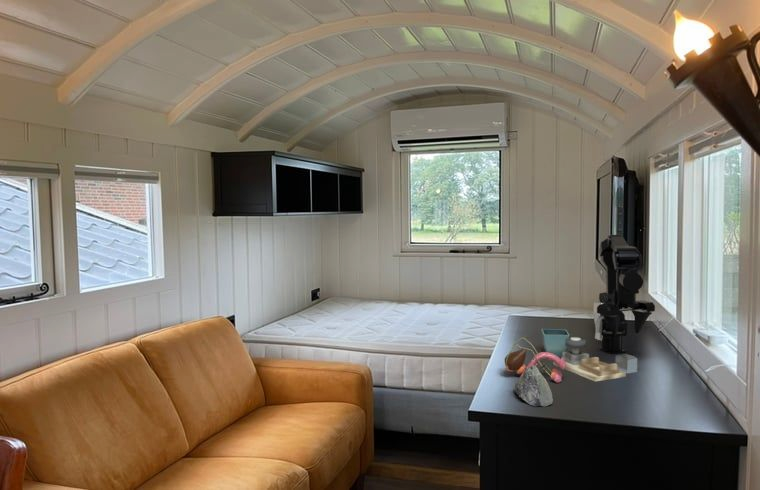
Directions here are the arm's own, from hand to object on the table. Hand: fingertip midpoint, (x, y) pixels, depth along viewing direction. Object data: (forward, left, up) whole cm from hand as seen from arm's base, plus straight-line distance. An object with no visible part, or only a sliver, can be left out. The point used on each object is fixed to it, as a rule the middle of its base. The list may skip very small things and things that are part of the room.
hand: (625, 334), depth 173 cm
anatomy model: (+32, -5, -12) cm, 34 cm away
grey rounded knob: (+11, -11, -8) cm, 17 cm away
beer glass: (-23, -36, -12) cm, 44 cm away
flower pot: (+10, -23, -12) cm, 28 cm away
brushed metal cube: (0, 0, -12) cm, 12 cm away
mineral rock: (+43, +10, -12) cm, 46 cm away
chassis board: (+11, -5, -12) cm, 17 cm away
